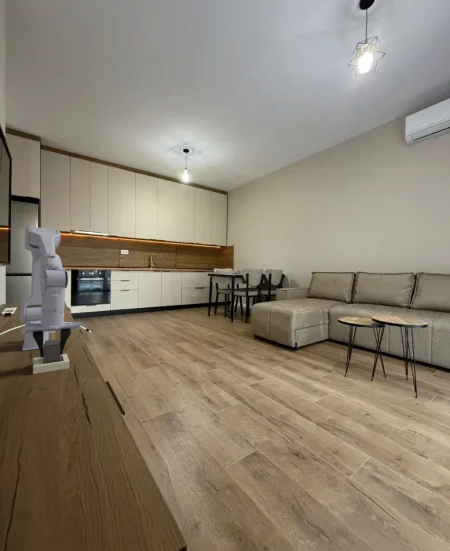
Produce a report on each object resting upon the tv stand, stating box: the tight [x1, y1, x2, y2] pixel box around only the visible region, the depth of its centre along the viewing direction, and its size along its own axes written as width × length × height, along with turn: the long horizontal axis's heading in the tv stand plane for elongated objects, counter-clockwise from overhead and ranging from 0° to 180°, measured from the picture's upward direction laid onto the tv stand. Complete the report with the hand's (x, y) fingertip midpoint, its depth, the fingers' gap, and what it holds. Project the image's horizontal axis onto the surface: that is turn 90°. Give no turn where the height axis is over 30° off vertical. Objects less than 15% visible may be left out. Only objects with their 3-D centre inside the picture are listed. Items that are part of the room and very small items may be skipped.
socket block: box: [32, 353, 70, 375], centre depth 75 cm, size 8×8×2 cm
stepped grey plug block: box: [43, 338, 60, 364], centre depth 75 cm, size 4×4×6 cm
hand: (51, 355), depth 75 cm, fingers closed on stepped grey plug block, 4 cm apart
